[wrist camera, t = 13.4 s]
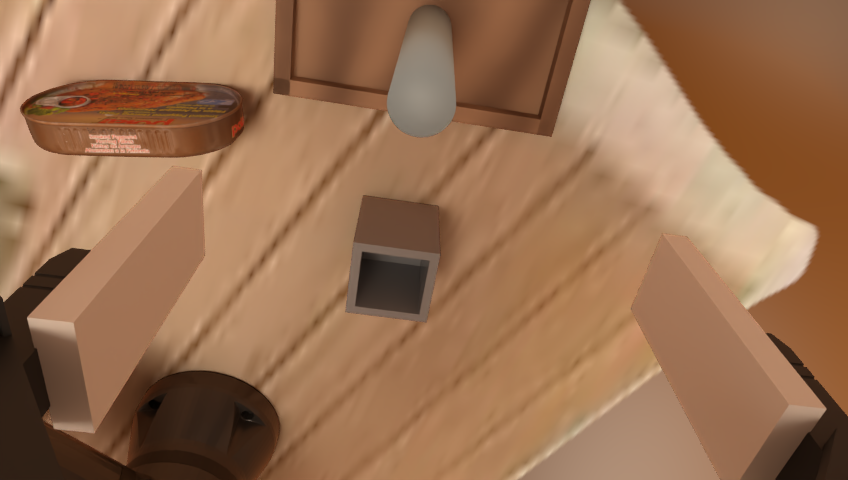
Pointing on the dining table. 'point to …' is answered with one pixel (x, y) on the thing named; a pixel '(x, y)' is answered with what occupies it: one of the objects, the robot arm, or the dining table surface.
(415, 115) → the dowel
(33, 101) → the tin
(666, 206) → the dining table surface
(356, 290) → the cup
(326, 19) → the tray
